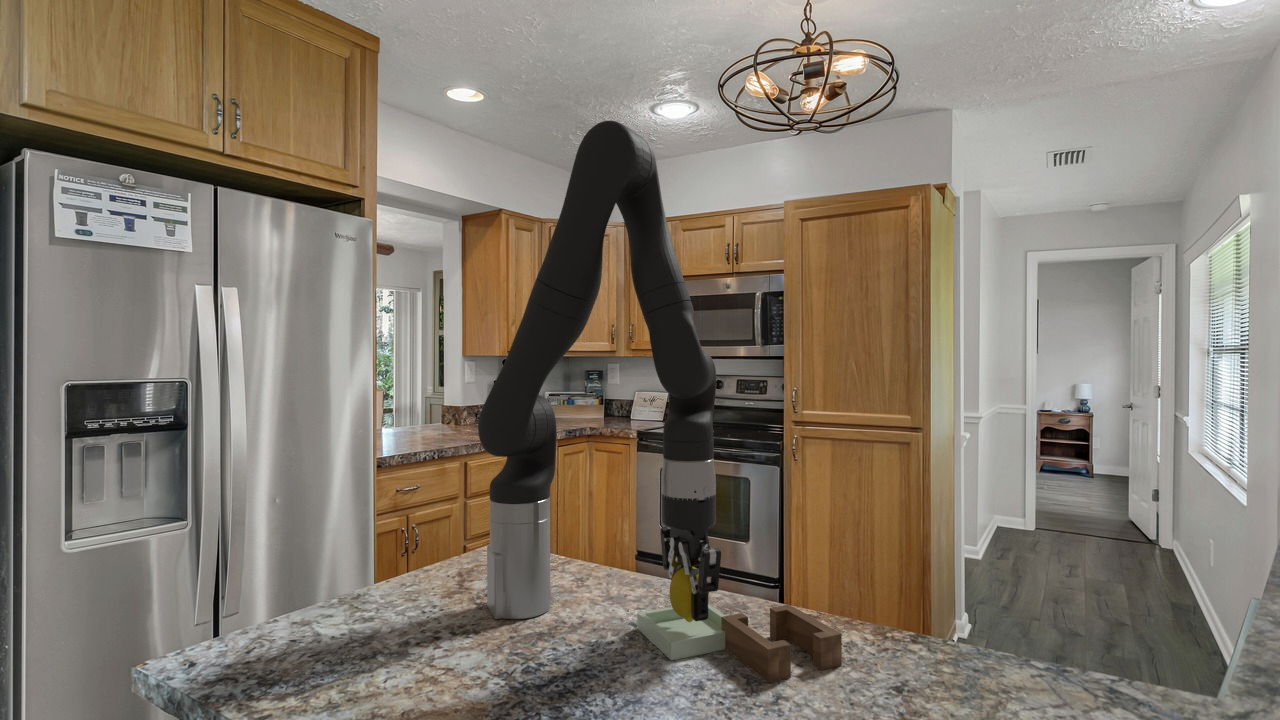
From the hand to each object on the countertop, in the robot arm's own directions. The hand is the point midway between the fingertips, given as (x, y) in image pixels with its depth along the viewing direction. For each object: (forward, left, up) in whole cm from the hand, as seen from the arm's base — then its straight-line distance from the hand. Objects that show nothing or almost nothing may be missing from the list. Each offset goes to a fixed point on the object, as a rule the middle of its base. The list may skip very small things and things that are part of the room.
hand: (689, 611), depth 94 cm
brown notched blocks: (+8, -10, -4) cm, 13 cm away
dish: (0, 0, -4) cm, 4 cm away
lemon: (0, 0, -2) cm, 2 cm away
